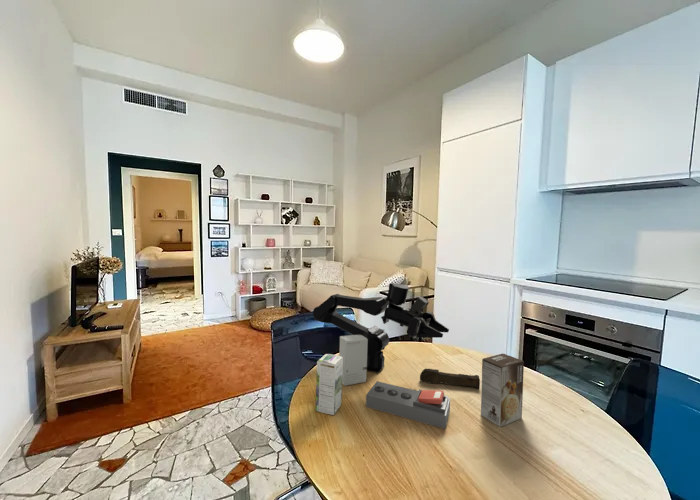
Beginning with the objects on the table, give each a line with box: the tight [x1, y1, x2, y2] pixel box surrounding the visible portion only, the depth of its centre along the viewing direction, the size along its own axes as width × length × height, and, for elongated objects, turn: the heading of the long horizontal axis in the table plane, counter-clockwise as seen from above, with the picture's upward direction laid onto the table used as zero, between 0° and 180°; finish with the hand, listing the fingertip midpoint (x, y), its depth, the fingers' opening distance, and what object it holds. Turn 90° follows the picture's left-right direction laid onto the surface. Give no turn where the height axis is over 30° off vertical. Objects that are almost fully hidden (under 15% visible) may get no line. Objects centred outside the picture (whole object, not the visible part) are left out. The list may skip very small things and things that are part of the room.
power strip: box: [365, 380, 451, 430], centre depth 85 cm, size 22×9×4 cm, turn 65°
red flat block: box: [418, 389, 445, 404], centre depth 82 cm, size 6×5×1 cm
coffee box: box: [480, 353, 525, 428], centre depth 82 cm, size 9×6×16 cm
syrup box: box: [315, 353, 343, 416], centre depth 84 cm, size 6×6×14 cm
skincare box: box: [338, 334, 368, 387], centre depth 101 cm, size 8×6×15 cm
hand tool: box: [419, 368, 481, 390], centre depth 100 cm, size 19×4×5 cm, turn 77°
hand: (445, 333), depth 97 cm, fingers open, 9 cm apart
